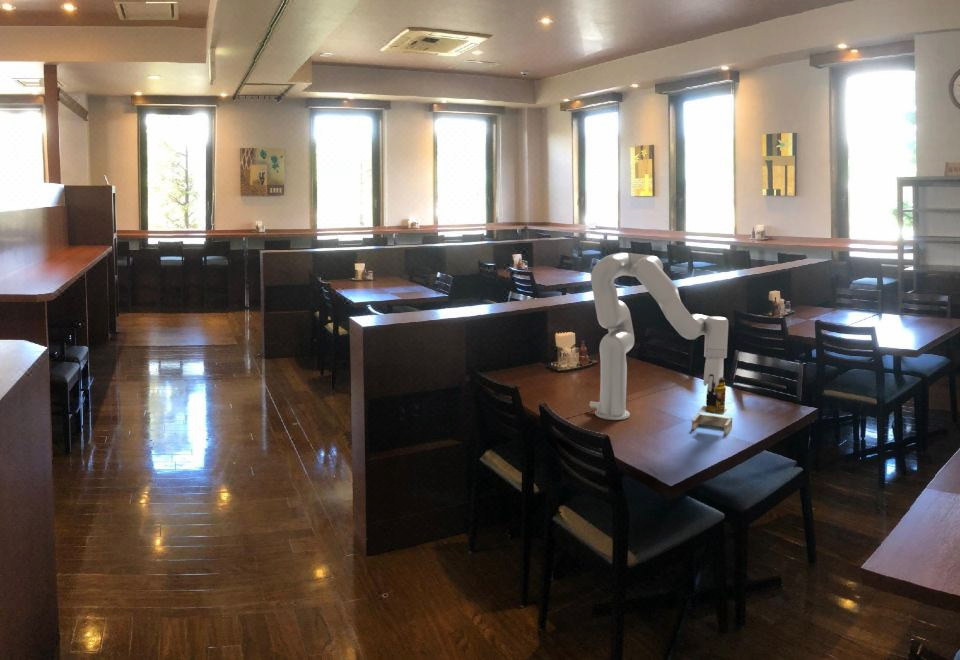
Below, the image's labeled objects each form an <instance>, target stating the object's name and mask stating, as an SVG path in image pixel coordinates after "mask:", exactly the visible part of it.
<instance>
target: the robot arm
mask: <svg viewBox="0 0 960 660" xmlns="http://www.w3.org/2000/svg"><path fill="white" fill-rule="evenodd" d="M622 276H628V277H634V278H636V279H637V280H638V281H639V282H640V283H641V285H642V286H643V287H644V288H645V289H646V291H647V292H648V293H649V294H650V295H651V296H652V298H653V299H654V300H655V302H656V303H657V304H658V306H659V308H660V309H661V311H662V313H663V315H664V317H665V319H666V320H667V321H668V322H669V324H670V325H671V327H673V328H674V330H675V331H676V332H678V334H679V335H680V336H681V337H683V338H685V340H695V339H697V338H698V337H700V336H702V335H704V351H703V353H704V354H703V357H704V358H705V363H704V370H703V371H704V373H703V382H702V384H703V386H707V388H706V389H707V390H706V396H705V397H706V399H705V400H706V402H705V406H707V405H710V406H716V395H715V394H716V387H717V386H718V385H719V381H720V379H721V378H724V364H725V363H724V361H725V360H724V359H726V358H728V341H729V340H728V339H729V338H728V337H729V319H728V318H727V317H724V316H718V315H717V316H714V315H713V316H712V315H711V316H709V315H704V314H701V313H700V314H699V313H692V314H691V313H690V312H689V310H688V309H687V308H686V307H685V305H684V303H683V302H682V300H681V297H680V292H679V289H678V286H677V285H676V284H675V282H673V280H672V279H671V278H670V277H669V276H668V275H667V274H666V273H665V271H664V265H663V262H662V259H660V258H659V257H658V256H655V255H650V254H640V253H639V254H638V253H631V252H617V253H611V254H609V255H607V256H606V255H605V256H604V257H603V258H600V260H598V262H597V263H596V264H595V265H594V266H593V268H592V270H591V275H590V283H591V288H592V294H593V300H594V306H595V311H596V318H597V321H598V324H599V325H600V326H601V327H602V328H604V329H606V330H607V331H608V333H607V334H605V335H604V336H603V337H602V338H601V339H600V340H601V341H600V342H599V356H600V383H599V384H600V387H599V388H600V389H599V390H600V391H599V401H598V402H597V401H589V407H590V408H591V409H596V410H595V411H594V412H595V416H597V417H598V418H600V419H601V420H602V419H603V420H610V421H618V420H620V421H622V420H626V419H628V418H630V411H628V410H627V408H626V405H627V404H626V403H627V402H626V401H627V378H628V377H627V375H628V374H627V373H628V366H627V355H626V354H627V353H629V351H631V349H632V348H633V347H634V345H635V334H634V327H633V322H632V316H631V312H630V309H629V307H628V306H627V304H626V303H625V302H623V301H622V300H620V299H619V297H618V290H617V287H616V284H615V279H616V278H619V277H622ZM712 384H715V386H713V385H712ZM713 388H714V389H713Z"/></svg>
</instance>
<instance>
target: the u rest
mask: <svg viewBox="0 0 960 660" xmlns="http://www.w3.org/2000/svg"><path fill="white" fill-rule="evenodd" d="M699 425H705V426H706V425H707V426H711V427H719V428H723V435H724V436H727V435H728V434H729V433H730V432H731V429H732V428H733V417H726V416H722V415H720V416H719V415H714V414H707V413H706V414H705V413H699V412H698V413H697V414H696V415H695V416H694V418H692V420H691V431H696V429H697V428H698V426H699Z"/></svg>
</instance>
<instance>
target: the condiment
mask: <svg viewBox="0 0 960 660" xmlns="http://www.w3.org/2000/svg"><path fill="white" fill-rule="evenodd" d="M725 382H726V379H725V378H724V377H723V378H721V379H720V381H719V385H718V386H717V387H716V394H715V395H716V406H710V405H702V407H701V408H700V409H699V410H698V413H699V412H700V413H706V414H710V415H718V416H719V415H720V416H723V415H724V414H725V413H726V412H727V411H728V408H726V407H725V406H726V405H725V404H726V389H727V388H726V385H725V384H726V383H725ZM712 385H713V386H715V384H712ZM713 389H714V388H713Z"/></svg>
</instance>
